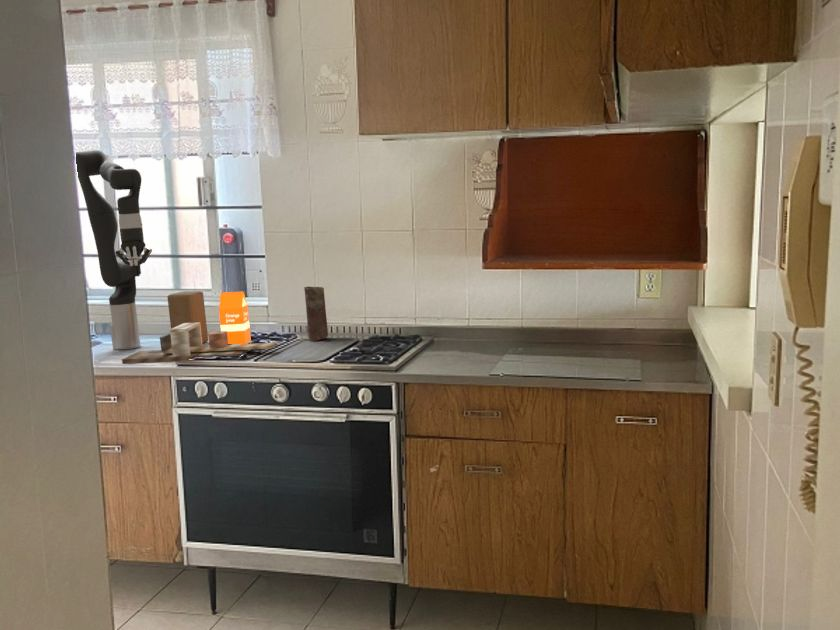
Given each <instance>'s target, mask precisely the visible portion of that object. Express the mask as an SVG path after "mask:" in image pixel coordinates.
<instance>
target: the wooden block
mask: <svg viewBox="0 0 840 630" xmlns="http://www.w3.org/2000/svg"><path fill="white" fill-rule="evenodd" d="M167 305H168V314H169V324H170V329H172V328H174V327H177V326H179V325H181V324H183V323H196V322H200V325H201V335H202V344H203V345H204V344H205V343H209V336H208V334H209V333H208V327H207V318H206V308H205V298H204V293H203V291H201V290H198V291H197V290H194V291H193V290H192V291H187V290H186V291H180V292H175V293H172V294H169V295H167Z"/></svg>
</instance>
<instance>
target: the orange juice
mask: <svg viewBox="0 0 840 630" xmlns="http://www.w3.org/2000/svg"><path fill="white" fill-rule="evenodd" d="M219 294H220V295H219V306H218V313H219V314H218V315H219V316H218V317H219V324H220V325H219V326H220V331H227V337H228V344H247V343H248V342H249V341H251V342H252V339H251V337H252V336H251V334H250V331H251V328H250V327H251V325H250V316H249V307H248V306H249V305H248V302H247V299H246V296H245V293H244V291H229V292H220V293H219Z"/></svg>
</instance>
